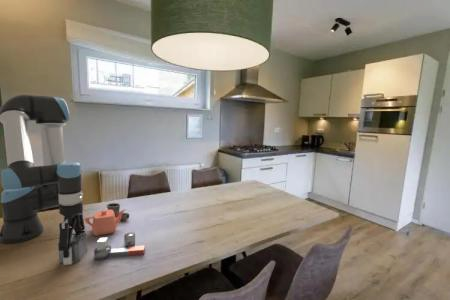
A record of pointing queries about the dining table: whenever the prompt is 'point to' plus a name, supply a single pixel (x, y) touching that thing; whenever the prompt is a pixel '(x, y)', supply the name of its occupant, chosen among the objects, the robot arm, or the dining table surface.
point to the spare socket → (129, 239)
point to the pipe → (117, 210)
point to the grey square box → (76, 247)
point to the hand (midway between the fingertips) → (73, 256)
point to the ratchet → (115, 250)
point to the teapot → (104, 222)
